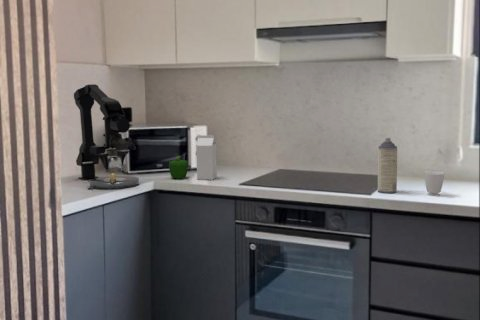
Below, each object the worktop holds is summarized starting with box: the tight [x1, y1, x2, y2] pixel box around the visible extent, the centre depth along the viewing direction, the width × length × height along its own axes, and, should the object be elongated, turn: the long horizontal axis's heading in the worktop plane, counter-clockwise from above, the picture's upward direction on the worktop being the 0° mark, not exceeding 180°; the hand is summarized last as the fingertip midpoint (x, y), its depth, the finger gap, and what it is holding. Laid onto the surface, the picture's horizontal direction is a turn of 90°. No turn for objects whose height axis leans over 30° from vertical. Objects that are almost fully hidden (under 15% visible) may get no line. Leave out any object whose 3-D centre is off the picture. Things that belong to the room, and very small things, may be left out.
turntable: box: [89, 172, 140, 190], centre depth 230 cm, size 20×20×6 cm
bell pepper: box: [168, 156, 189, 180], centre depth 245 cm, size 8×8×10 cm
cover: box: [105, 155, 123, 174], centre depth 230 cm, size 6×6×6 cm
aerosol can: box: [377, 137, 398, 195], centre depth 204 cm, size 7×7×20 cm
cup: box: [423, 170, 445, 197], centre depth 199 cm, size 7×10×8 cm
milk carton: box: [195, 134, 218, 181], centre depth 242 cm, size 7×7×19 cm
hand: (113, 168), depth 230 cm, fingers closed on cover, 6 cm apart
